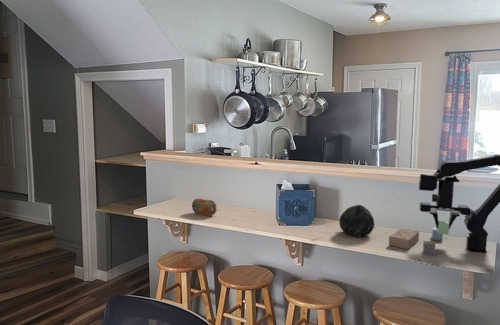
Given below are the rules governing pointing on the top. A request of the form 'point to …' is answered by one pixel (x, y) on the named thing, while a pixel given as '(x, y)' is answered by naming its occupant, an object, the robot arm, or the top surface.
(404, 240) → the brick
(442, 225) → the green block
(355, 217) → the squash
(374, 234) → the top surface
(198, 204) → the tin
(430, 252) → the charcoal block
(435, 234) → the bluegrey block
